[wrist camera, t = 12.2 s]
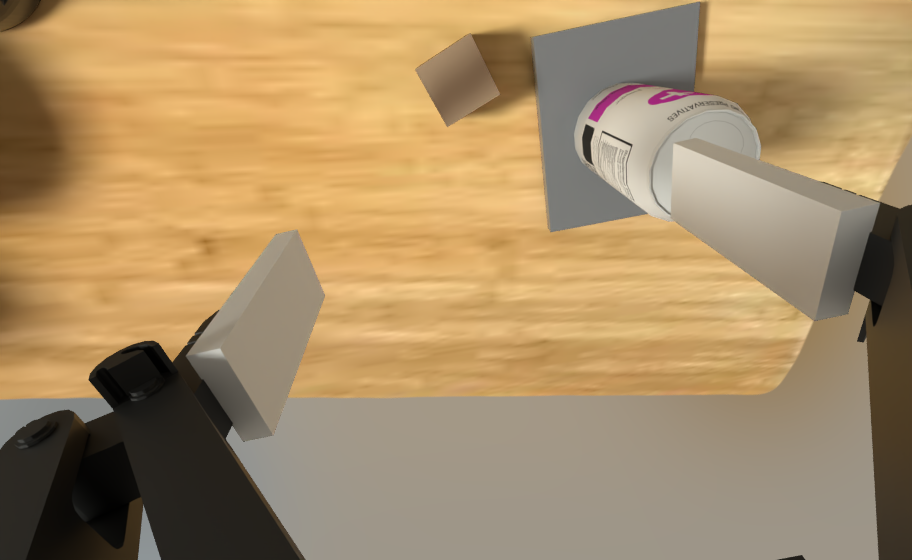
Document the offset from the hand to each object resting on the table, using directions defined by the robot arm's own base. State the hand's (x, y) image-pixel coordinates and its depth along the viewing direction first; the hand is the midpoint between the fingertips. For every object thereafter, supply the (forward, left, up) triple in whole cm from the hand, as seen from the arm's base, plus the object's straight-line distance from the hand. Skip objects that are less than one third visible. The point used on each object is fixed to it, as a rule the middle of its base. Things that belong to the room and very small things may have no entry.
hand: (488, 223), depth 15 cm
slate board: (+4, +15, -29) cm, 32 cm away
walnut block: (-3, +1, -29) cm, 29 cm away
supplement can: (+4, +15, -28) cm, 31 cm away
